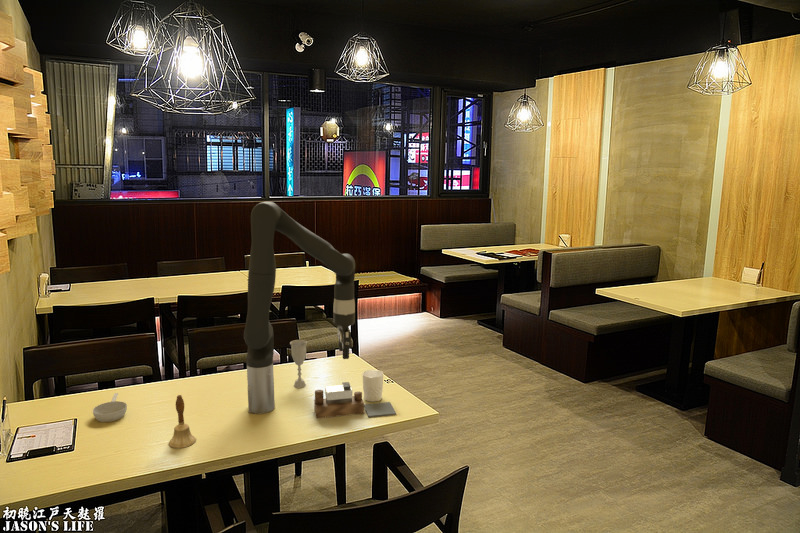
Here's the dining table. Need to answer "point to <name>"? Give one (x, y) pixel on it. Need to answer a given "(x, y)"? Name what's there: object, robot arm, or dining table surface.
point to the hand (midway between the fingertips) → (343, 354)
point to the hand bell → (181, 429)
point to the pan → (110, 410)
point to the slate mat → (379, 409)
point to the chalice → (299, 359)
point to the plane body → (337, 405)
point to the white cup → (372, 385)
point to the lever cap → (338, 391)
